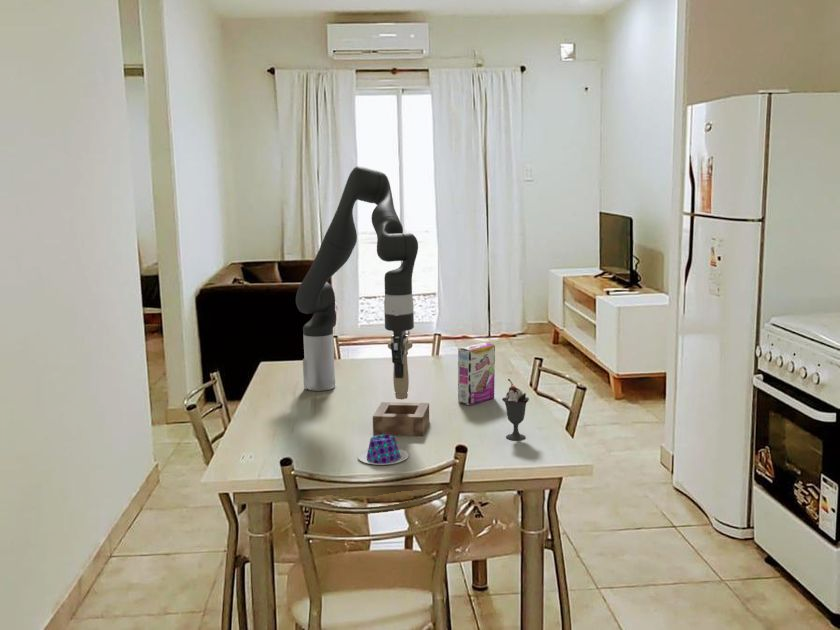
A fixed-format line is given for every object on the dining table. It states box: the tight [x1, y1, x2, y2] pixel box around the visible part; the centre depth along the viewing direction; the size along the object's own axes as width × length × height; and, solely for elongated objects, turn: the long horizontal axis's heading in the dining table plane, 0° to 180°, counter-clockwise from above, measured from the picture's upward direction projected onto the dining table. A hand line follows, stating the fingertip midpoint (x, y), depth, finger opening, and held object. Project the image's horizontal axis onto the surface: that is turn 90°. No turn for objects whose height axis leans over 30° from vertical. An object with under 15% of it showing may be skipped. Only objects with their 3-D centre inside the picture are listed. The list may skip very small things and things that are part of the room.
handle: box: [387, 340, 413, 400], centre depth 220 cm, size 5×6×15 cm
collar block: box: [372, 401, 430, 437], centre depth 222 cm, size 13×13×5 cm
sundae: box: [501, 378, 530, 442], centre depth 212 cm, size 7×7×15 cm
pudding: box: [357, 434, 409, 466], centre depth 200 cm, size 12×12×5 cm
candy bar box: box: [457, 342, 496, 406], centre depth 245 cm, size 11×5×16 cm, turn 135°
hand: (400, 375), depth 221 cm, fingers closed on handle, 4 cm apart
